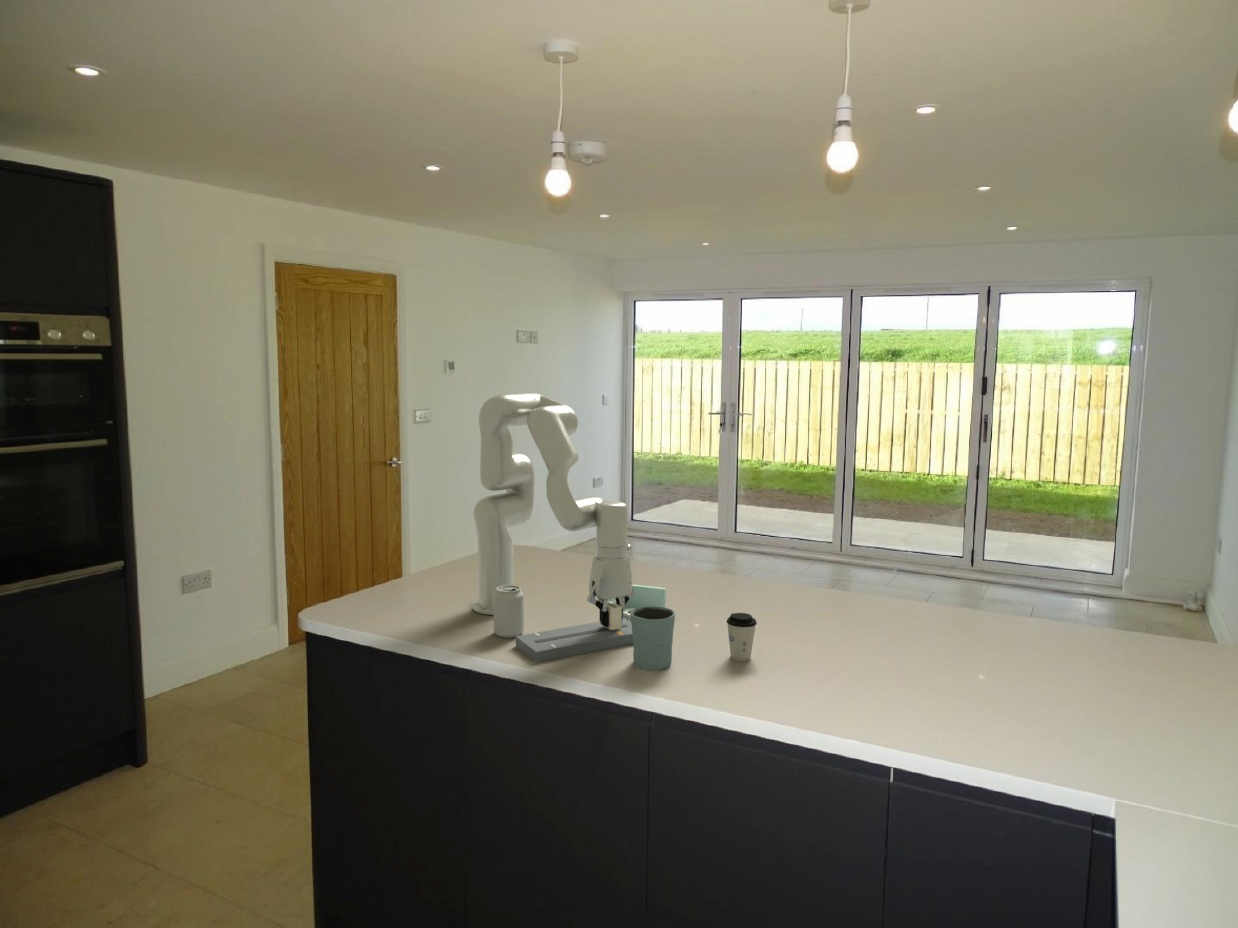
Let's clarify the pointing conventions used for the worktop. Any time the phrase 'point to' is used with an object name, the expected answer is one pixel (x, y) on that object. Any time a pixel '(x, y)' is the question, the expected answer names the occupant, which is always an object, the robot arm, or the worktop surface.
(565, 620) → the worktop surface
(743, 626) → the coffee cup
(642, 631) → the teal embossed cup
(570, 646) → the fader console
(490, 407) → the robot arm
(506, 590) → the can
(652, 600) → the right angle wall
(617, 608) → the fader tab
